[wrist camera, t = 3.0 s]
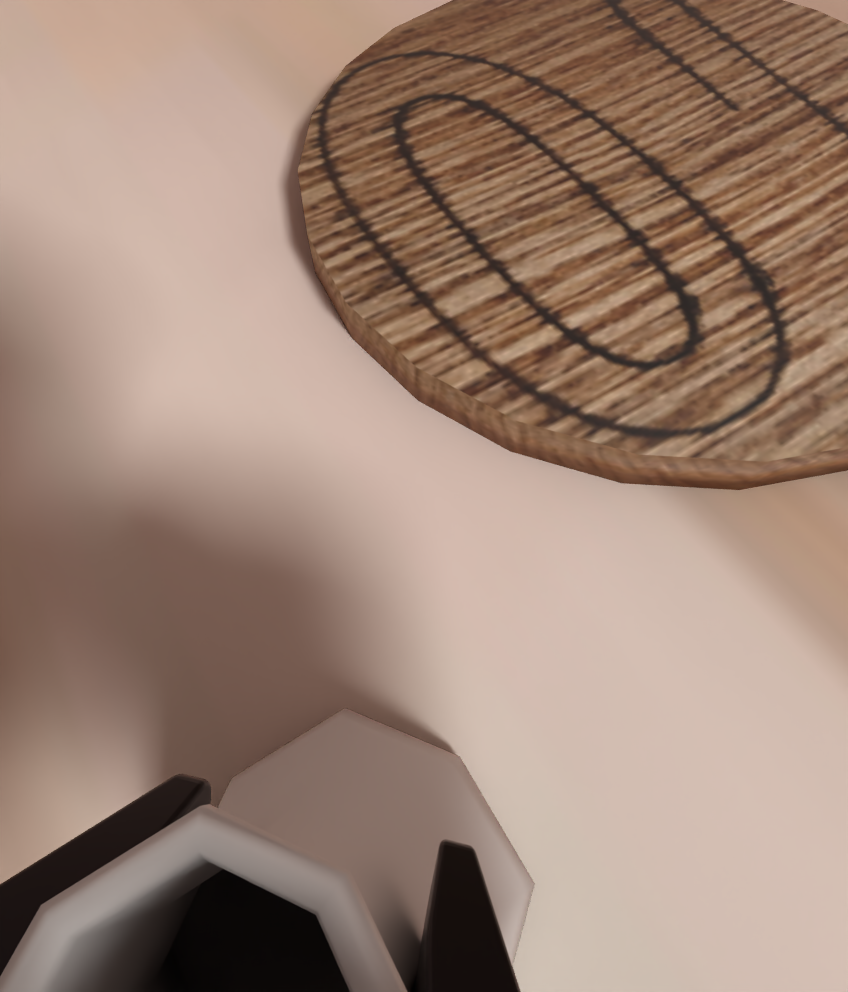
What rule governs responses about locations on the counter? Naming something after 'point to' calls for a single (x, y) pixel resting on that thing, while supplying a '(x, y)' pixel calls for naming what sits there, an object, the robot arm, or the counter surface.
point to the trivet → (601, 230)
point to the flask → (282, 878)
